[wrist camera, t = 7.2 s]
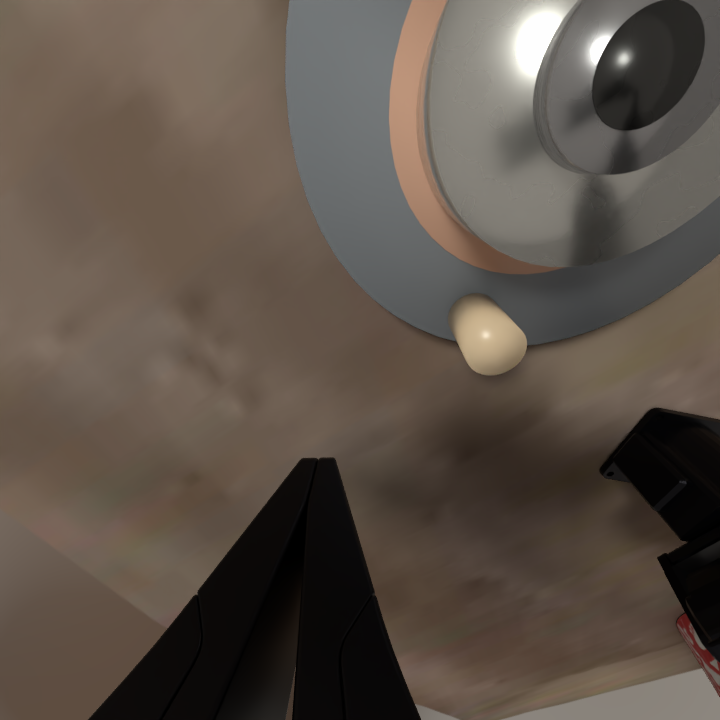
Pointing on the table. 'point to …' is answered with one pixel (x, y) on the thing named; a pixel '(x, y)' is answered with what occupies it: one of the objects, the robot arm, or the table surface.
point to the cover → (572, 122)
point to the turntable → (422, 210)
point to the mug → (700, 652)
